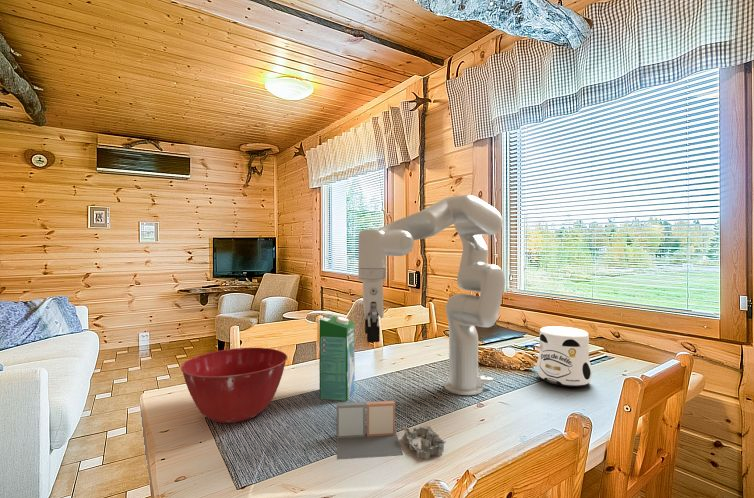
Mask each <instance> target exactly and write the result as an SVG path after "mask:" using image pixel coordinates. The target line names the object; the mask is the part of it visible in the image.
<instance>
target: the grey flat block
mask: <svg viewBox="0 0 754 498" xmlns="http://www.w3.org/2000/svg"><path fill="white" fill-rule="evenodd" d="M365 426H366V403H365V402H364V401H363V402H362V401H361V402H358V401H357V402H338V403H337V402H336V439H337V438H352V437H365Z"/></svg>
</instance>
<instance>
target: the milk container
mask: <svg viewBox="0 0 754 498" xmlns="http://www.w3.org/2000/svg"><path fill="white" fill-rule="evenodd" d="M536 369H537V370H536V371H537V374H538V376H539V378H540V379H542V380H543V381H544V382H547V383H549V384H552V385H556V386H560V387H566V388H581V387H584V386H587V385H590V382H591V379H592V374H593V371H592V365H591V362H590V337H589V332H587V331H586V330H584V329H581V328H580V329H579V328H575V327H568V326H557V325H556V326H552V325H551V326H543V327H541V328H540V330H539V354H538V357H537V360H536Z"/></svg>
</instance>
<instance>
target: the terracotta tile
mask: <svg viewBox="0 0 754 498" xmlns="http://www.w3.org/2000/svg"><path fill="white" fill-rule="evenodd" d="M365 426H366V433H367V437H370V436H387V435H395V431H396V402H395V400H384V401H383V400H380V401H366V403H365Z"/></svg>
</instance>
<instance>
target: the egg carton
mask: <svg viewBox="0 0 754 498" xmlns="http://www.w3.org/2000/svg"><path fill="white" fill-rule="evenodd" d="M400 429H403V431H404V434H403V435H402V442H403V444H409V446H408V447H409V449H410V450H411V451H416V456H417V458H423V459H425V460H428V459H430V456H431V455H435V456H438V457H441V456H443V452H445V444H446V443H447V441H446V440H444V439H442V437H441V436H440V435H439V434H437V432H435V431H434V430H433V429H432V428H431V426H430V425H429V426H422V427H421V426H419V427H418V428H416V427H414V428H413V429H412V430H411V431H410V429H409V427H404V426H401V427H400ZM418 436H422V437H425V438H421V440H420V443H421V449H420V446H419V443H418V442H417V443H416V444H415V443H413V442H412V440H414V439H417V438H418ZM432 443H433V445H432Z"/></svg>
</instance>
